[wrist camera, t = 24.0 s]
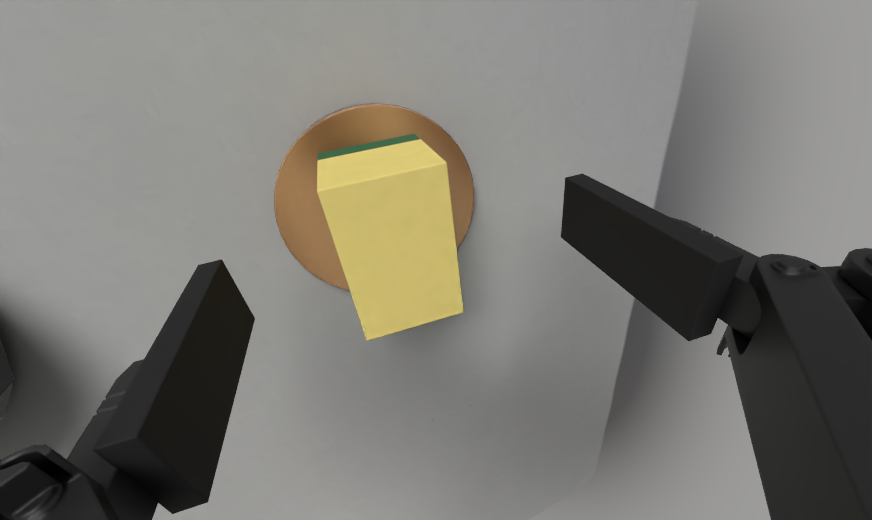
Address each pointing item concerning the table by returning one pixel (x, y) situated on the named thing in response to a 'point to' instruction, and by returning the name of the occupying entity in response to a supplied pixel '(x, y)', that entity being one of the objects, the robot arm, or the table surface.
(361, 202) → the sponge
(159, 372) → the robot arm
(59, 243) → the table surface
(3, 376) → the bowl
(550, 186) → the table surface
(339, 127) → the coaster
